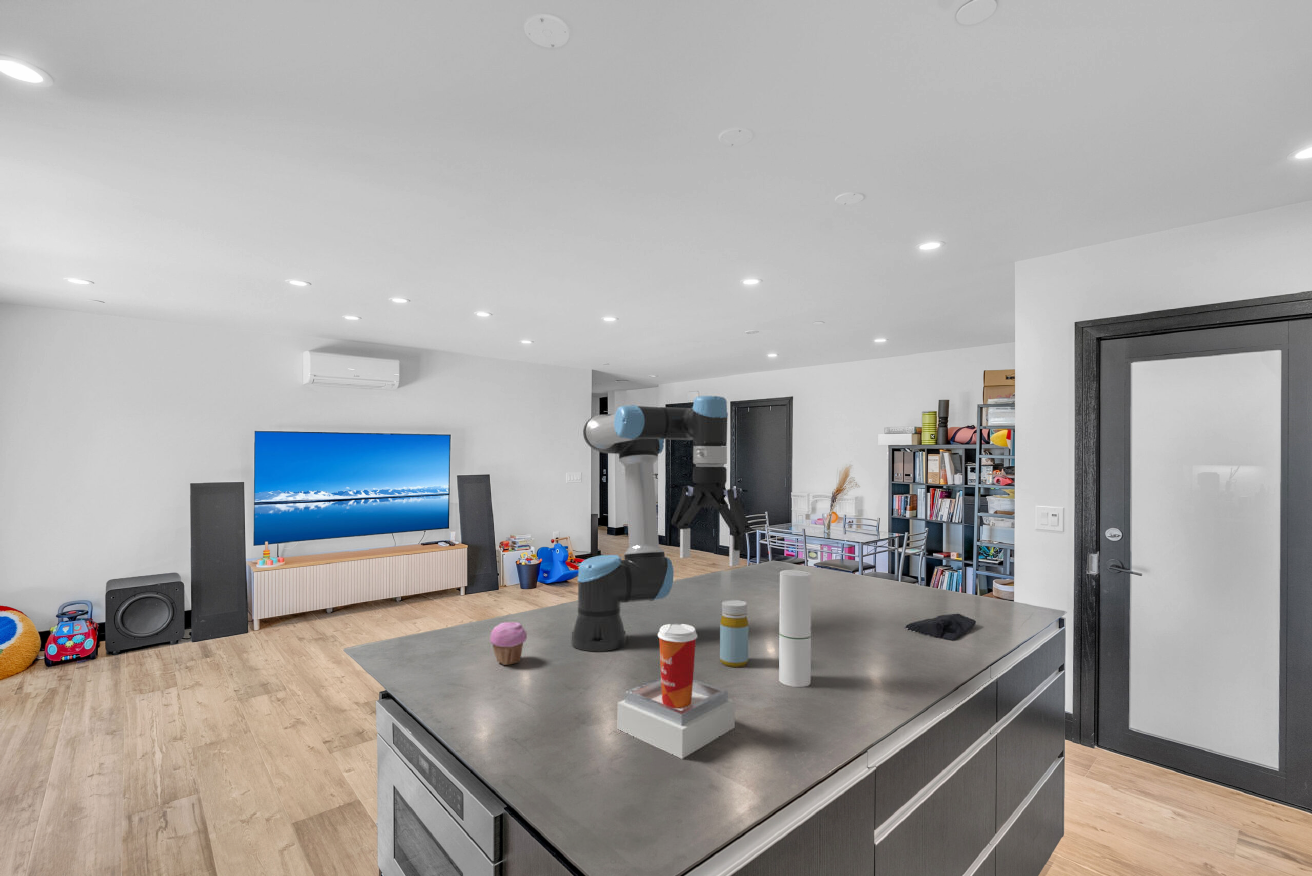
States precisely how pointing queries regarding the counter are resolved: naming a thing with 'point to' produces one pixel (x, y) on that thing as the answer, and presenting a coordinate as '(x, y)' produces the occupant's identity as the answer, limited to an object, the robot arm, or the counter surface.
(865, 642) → the counter surface
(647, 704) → the square tray
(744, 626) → the bottle
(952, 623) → the crumpled black cloth
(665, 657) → the paper cup
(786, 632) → the cylindrical container
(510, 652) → the cupcake
